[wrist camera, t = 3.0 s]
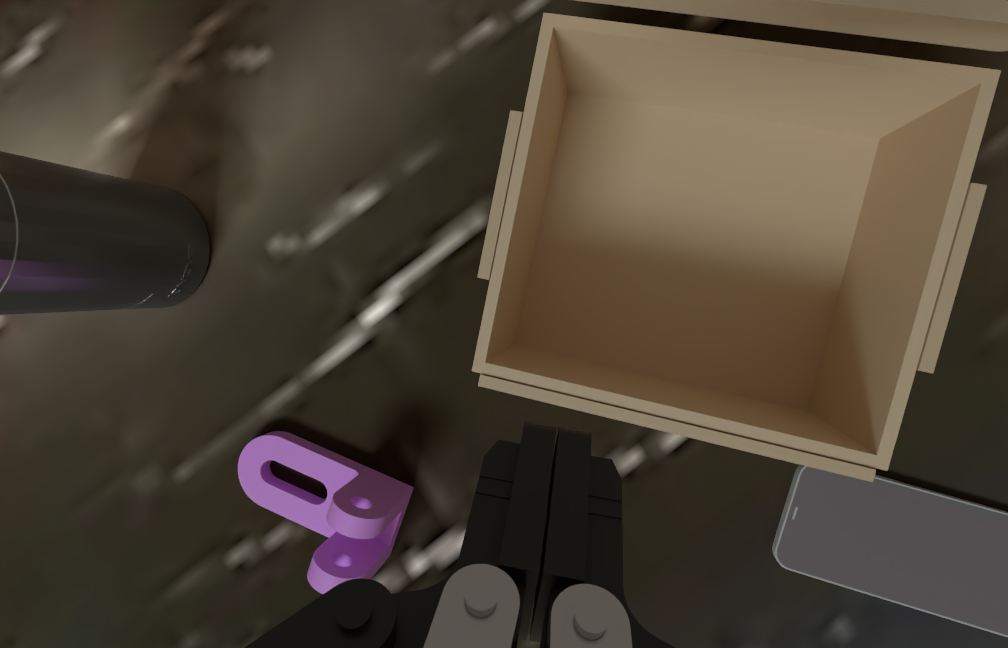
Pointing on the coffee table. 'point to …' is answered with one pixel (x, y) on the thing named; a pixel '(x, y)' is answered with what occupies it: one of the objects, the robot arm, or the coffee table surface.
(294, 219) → the coffee table surface
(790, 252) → the carton
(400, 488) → the bracket
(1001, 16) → the flap
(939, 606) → the smartphone
